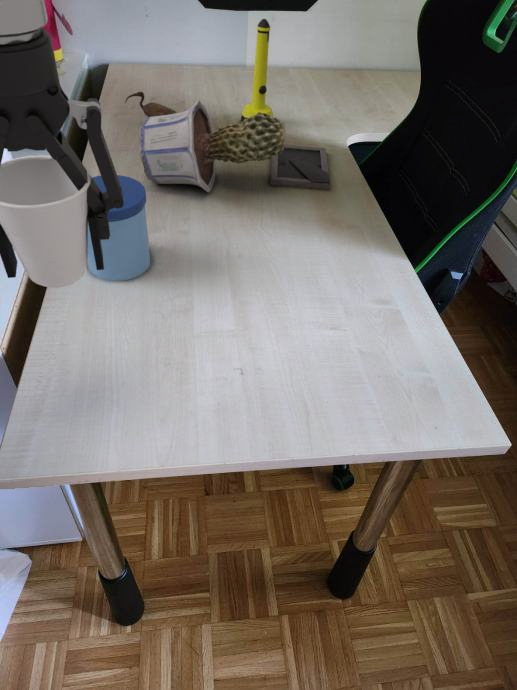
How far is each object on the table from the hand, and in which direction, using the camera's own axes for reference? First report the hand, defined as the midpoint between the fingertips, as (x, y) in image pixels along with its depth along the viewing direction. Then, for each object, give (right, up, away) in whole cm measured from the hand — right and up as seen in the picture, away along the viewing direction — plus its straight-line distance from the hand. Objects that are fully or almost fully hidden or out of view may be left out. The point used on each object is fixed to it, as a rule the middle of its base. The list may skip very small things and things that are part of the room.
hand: (57, 265), depth 56 cm
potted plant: (+12, +27, +59) cm, 66 cm away
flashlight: (+21, +51, +83) cm, 100 cm away
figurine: (-5, +48, +78) cm, 91 cm away
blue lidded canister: (-3, +6, +38) cm, 38 cm away
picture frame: (+32, +33, +68) cm, 82 cm away
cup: (0, -1, +1) cm, 1 cm away
